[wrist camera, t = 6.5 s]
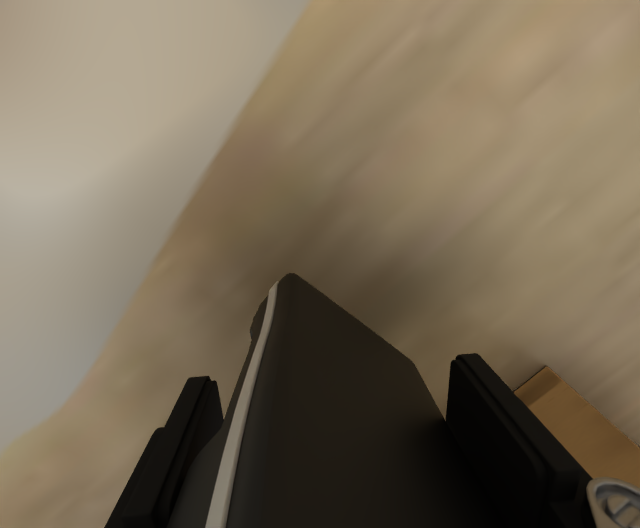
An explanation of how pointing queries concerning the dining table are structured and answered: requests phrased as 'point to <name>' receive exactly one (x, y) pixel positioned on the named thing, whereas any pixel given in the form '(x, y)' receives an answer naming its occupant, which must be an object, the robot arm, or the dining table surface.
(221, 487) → the battery charger
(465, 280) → the dining table surface
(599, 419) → the tray
